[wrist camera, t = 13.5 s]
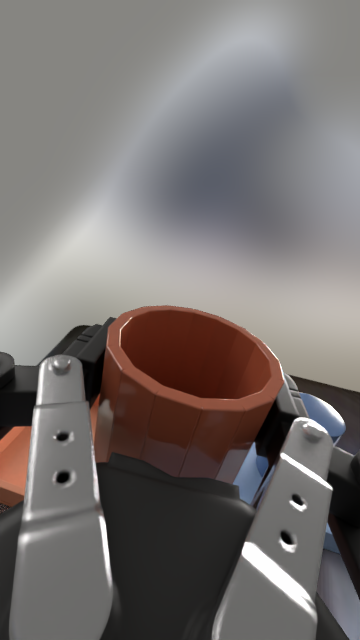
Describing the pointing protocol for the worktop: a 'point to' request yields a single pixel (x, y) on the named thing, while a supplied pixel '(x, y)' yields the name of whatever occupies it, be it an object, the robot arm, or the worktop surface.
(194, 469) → the terracotta cup
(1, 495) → the terracotta tray
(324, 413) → the blue upright cylinder
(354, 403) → the worktop surface
